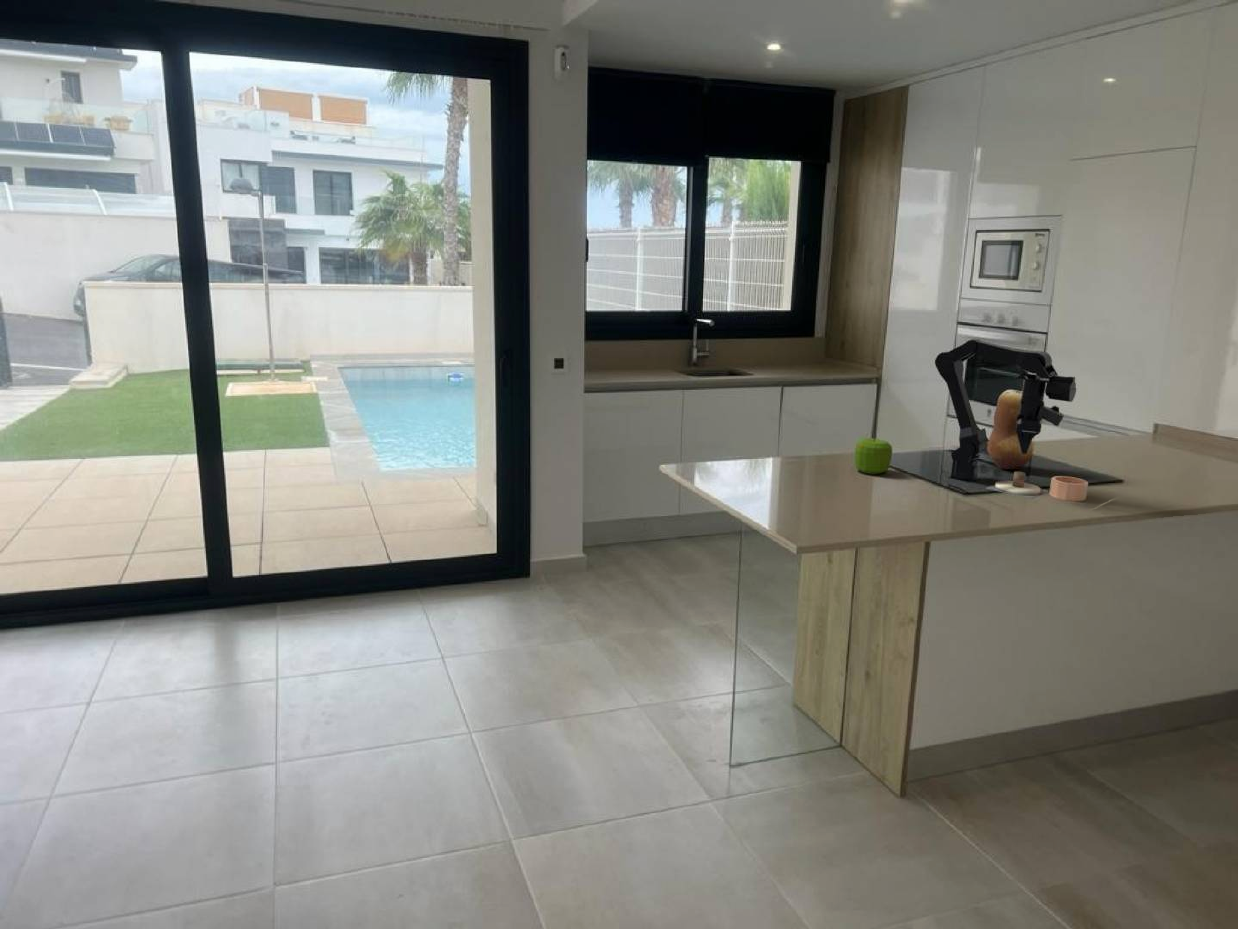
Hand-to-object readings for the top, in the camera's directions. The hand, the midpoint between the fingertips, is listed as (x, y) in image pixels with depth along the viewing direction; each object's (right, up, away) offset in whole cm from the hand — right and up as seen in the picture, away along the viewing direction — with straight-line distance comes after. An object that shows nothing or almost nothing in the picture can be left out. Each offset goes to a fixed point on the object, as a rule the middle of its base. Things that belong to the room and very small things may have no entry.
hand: (1024, 450), depth 253 cm
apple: (-38, -6, +19) cm, 43 cm away
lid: (-1, -11, +3) cm, 12 cm away
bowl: (+11, -13, -2) cm, 17 cm away
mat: (-1, -12, +3) cm, 12 cm away
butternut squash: (+7, -5, +29) cm, 30 cm away
